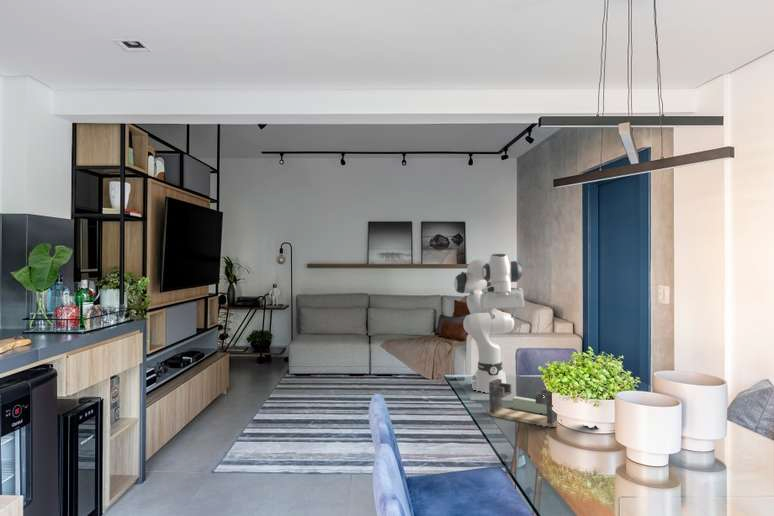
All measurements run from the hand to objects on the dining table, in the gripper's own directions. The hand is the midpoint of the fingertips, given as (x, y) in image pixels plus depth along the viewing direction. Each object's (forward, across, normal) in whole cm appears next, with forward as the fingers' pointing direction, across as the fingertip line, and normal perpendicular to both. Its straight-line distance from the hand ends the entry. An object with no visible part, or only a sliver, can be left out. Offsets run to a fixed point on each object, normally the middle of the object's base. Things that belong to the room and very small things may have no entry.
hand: (503, 318), depth 228 cm
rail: (+40, -8, +10) cm, 42 cm away
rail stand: (+41, 0, +19) cm, 45 cm away
